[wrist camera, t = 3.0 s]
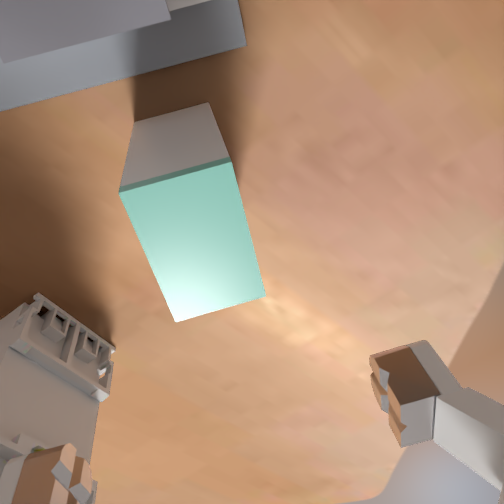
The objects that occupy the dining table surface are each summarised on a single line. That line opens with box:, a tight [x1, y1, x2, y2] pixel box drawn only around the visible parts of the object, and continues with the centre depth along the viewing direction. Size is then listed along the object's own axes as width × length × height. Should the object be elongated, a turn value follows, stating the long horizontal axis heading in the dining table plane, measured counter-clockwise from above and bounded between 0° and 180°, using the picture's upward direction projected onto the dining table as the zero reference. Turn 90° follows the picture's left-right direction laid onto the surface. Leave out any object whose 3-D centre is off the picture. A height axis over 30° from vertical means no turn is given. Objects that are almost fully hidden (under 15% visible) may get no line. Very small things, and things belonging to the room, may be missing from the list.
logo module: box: [119, 102, 266, 322], centre depth 22 cm, size 4×7×10 cm, turn 12°
